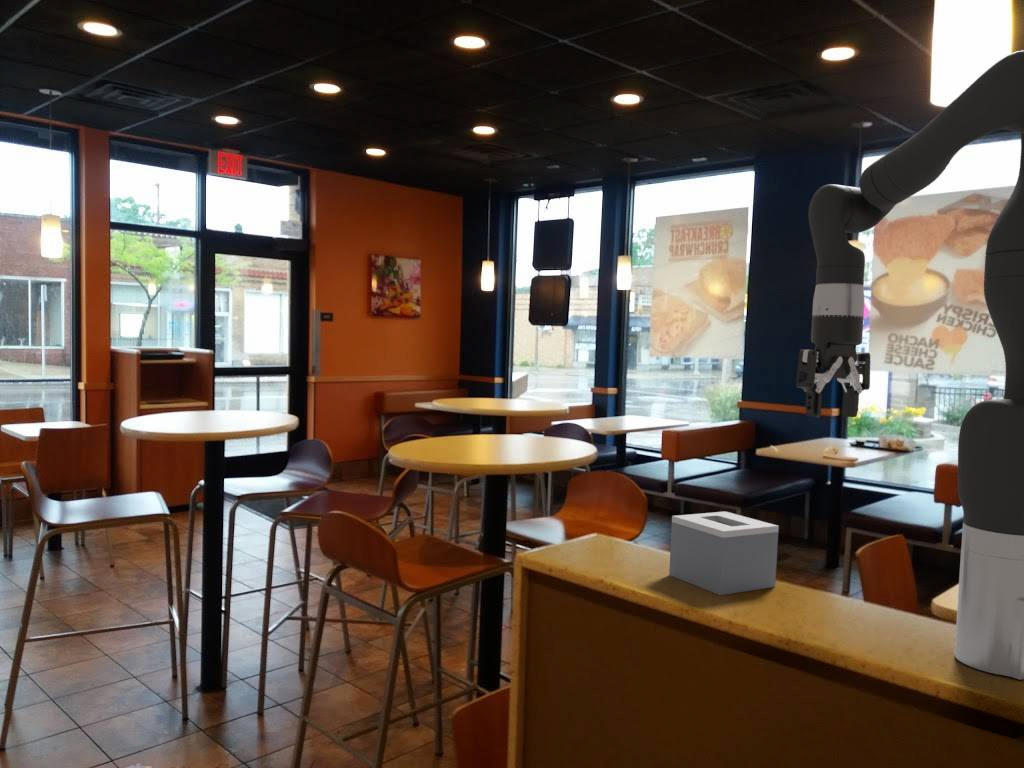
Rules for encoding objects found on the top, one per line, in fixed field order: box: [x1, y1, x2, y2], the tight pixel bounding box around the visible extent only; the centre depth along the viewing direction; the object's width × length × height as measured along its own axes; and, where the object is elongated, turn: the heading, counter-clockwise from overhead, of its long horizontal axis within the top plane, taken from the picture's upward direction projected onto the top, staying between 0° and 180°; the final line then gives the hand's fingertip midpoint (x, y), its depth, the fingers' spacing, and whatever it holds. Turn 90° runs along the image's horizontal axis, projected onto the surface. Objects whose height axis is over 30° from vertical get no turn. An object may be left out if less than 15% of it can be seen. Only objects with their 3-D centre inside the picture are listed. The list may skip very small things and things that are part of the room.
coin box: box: [668, 511, 780, 596], centre depth 135 cm, size 12×12×10 cm
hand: (831, 416), depth 129 cm, fingers open, 8 cm apart
